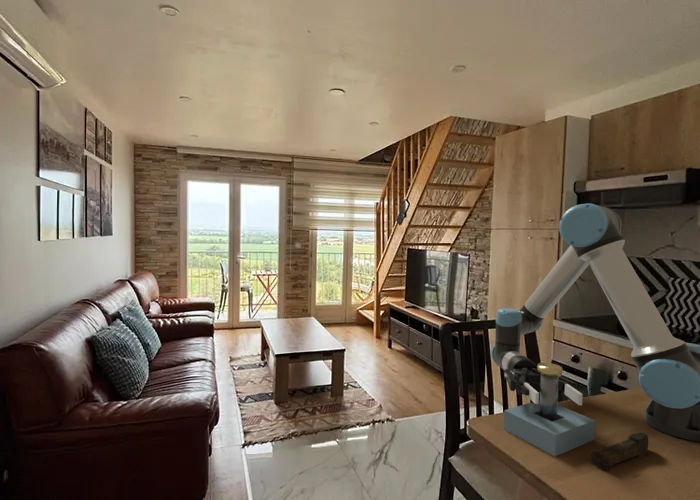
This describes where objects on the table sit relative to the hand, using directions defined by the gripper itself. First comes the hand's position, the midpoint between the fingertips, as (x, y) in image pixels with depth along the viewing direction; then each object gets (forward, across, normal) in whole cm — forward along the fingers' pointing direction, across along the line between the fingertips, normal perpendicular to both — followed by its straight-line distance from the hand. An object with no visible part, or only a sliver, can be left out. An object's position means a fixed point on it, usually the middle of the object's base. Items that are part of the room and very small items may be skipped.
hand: (558, 399), depth 95 cm
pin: (-4, 0, -10) cm, 11 cm away
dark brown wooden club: (+5, -12, -12) cm, 18 cm away
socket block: (-4, 0, -11) cm, 12 cm away
